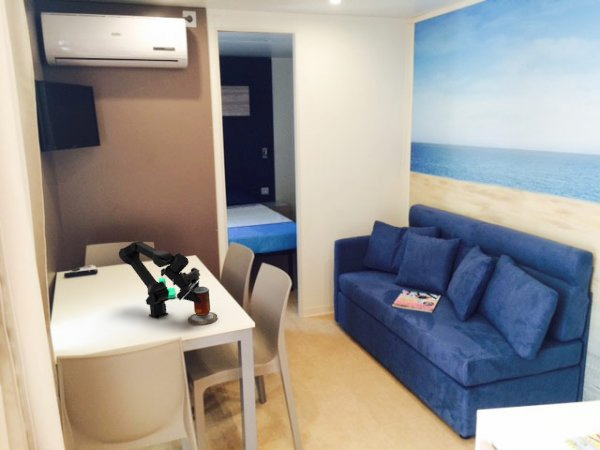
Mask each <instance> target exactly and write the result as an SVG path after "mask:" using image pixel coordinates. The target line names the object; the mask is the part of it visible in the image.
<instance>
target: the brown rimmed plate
mask: <svg viewBox="0 0 600 450" xmlns="http://www.w3.org/2000/svg"><path fill="white" fill-rule="evenodd" d="M217 320H218V314H217V313H215V312H211V311H210V312H209V314H208V315H207V316H202V317H200V316H197V315H196V313H193V314H192V315H190V316H188V318H187V321H188V323H189V324H190V325H192V326H206V325H210V324H214V323H215V322H216V321H217Z"/></svg>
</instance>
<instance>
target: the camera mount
mask: <svg viewBox="0 0 600 450" xmlns="http://www.w3.org/2000/svg"><path fill="white" fill-rule="evenodd" d="M161 281H162V282H163V283H164V284H165V286H166V287H167V282H166V281H167V280H166V277H159V278H158V282H161ZM167 289H168V291H169V296H168V299H172V298H173V299H174V298H177V294H176V288H175V287H167Z"/></svg>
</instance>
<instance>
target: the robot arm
mask: <svg viewBox="0 0 600 450" xmlns="http://www.w3.org/2000/svg"><path fill="white" fill-rule="evenodd" d="M140 254H141V255H142V256H145V257H147V258H148V259H151V260H152V262H153V264H154V265H155V266H157V267H158V268H162V269H161V270H160V276H161V277H164V276H165V277H166V278H168V279H169V280H170V281H171V282H172V285H173V286H177V287H178V288H179V292H178V293H177V294H176V298H177V299H178V300H179V301H181V300H183V301H184V300H185V301H189V302H192V303H194V302H195V303H199V304H200V303H201V301H200V300H199V299H198V297H197V296H196V295H195V294H194V293H193V290H194V289H195V288H197V287H200V276H201V273H200V269H198V268H196V267H192V268H191V269H190V272H188V273H186V272H182V271H183V270H184V269H185V268H186V267H188V265H189V263H190V262H189V259H188V257H186V256H185V255H182V254H181V253H180V252H179V253H175V254H174V255H173V254H172V253H171V252H169V251H166V250H159V249H156V248H154V247H152V246H150V245H148V244H146V243H144V242H143V241H142V240H137V241H134V242H131V243H130V244H129V245H127V246H125V247H123V248H120V249H119V252H118V257H119V259H120V260H122V262H123V263H124V264H126V265H129V266H130V267H132V269H133V271H135V273H136V274H137V276H138V277H139V278H140V280H141V281H142V282H143V284H144V285H145V286H146V288H147V295H148V297H146V299H145V303H146V305H147V306H149V310H150V311H149V314H148V317H151V318H154V319H159V318H162V317H165V316H167V315H169V313H168V312H167V304H166V302H167V301H168V299H169V298H168V296H169V291H168V289H167V288H168V286H167V285H166V286H165V284H164V283H163V282H162V281H161V282H159V281H157V280H156V279H155V277H154V276H153V275H152V273H151V272H150V270H149V269H148V268H147V267H146V265H145V264H144V263H143V261H142V260H141V258H140V257H141V256H140ZM163 267H165V268H163Z"/></svg>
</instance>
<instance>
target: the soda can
mask: <svg viewBox="0 0 600 450" xmlns="http://www.w3.org/2000/svg"><path fill="white" fill-rule="evenodd" d="M193 293H194V294H195V295H196V296H197V297H198V299H199V300H200V301H201V303H200V304H199V303H195V302H193V309H194V314H196V315H197V316H200V317H202V316H207V315H208V314H209V312H211V303H210V301H211V300H210V290H209V288H208V287H206V286H199V287H197V288H195V289H194V290H193Z"/></svg>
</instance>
